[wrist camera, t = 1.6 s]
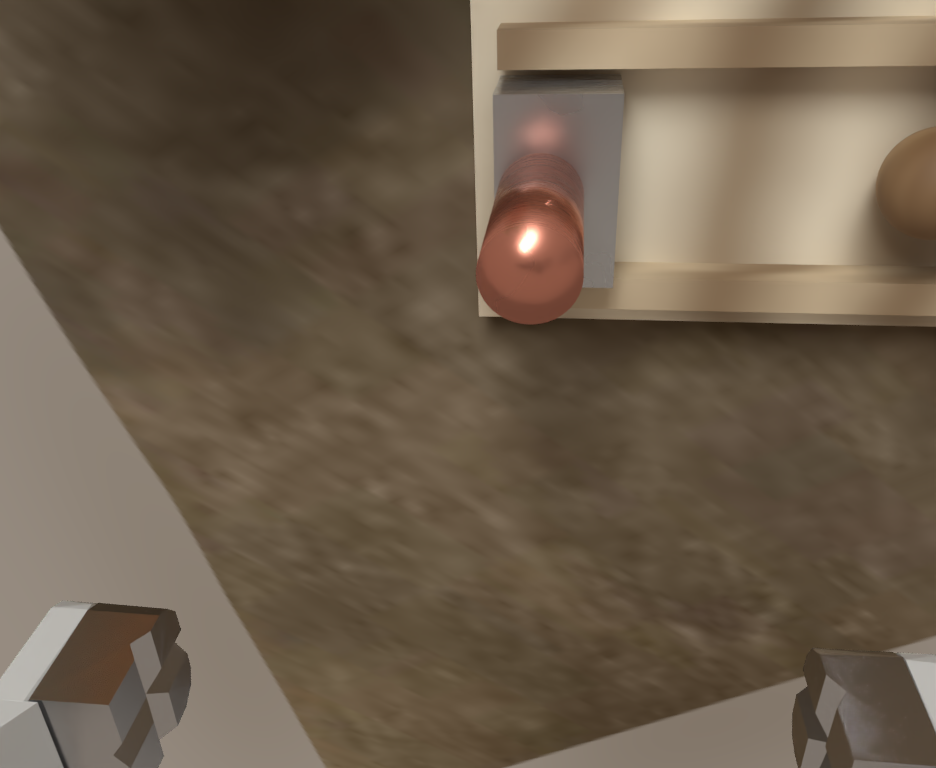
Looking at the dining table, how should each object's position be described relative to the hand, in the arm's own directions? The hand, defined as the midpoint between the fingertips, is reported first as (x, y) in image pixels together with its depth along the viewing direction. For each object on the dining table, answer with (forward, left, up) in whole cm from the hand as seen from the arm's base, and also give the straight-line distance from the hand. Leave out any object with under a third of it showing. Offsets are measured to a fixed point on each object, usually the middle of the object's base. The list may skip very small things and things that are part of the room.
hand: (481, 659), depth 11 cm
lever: (0, 0, -22) cm, 22 cm away
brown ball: (-13, 0, -23) cm, 26 cm away
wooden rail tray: (-7, 0, -24) cm, 25 cm away
